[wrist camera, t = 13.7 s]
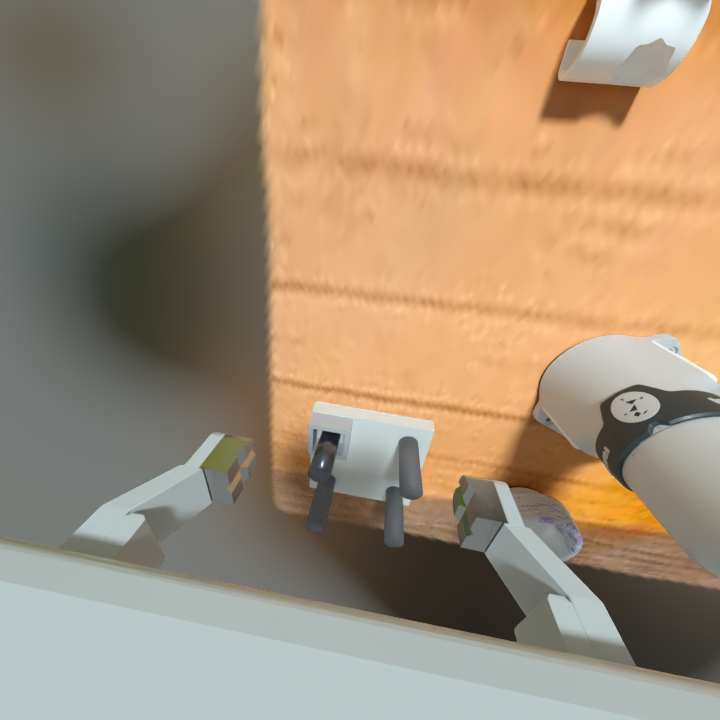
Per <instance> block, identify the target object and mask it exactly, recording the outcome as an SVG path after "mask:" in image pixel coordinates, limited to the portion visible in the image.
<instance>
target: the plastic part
mask: <svg viewBox="0 0 720 720" xmlns="http://www.w3.org/2000/svg"><path fill="white" fill-rule="evenodd" d="M710 7H711V0H597V3H596V11H595V15H594V18H593V21H592V24H591V27H590V30H589V33H588V35H587V38H586V40H569V41H568V43H567V46H566V49H565V52H564V55H563V58H562V61H561V64H560V67H559V70H558V79H559V81H570V82H583V83H596V84H609V85H622V86H635V87H648V88H650V87H653V86H656V85H657V84H659V83H660V82H662V81H663V80H664V79H666V78H667V77H668V76H669V75H670V74H671V73H672V72H673V71H674V70H675V69H676V67H677V66H678V65H679V64H680V63H681V61H682V60H683V59H684V57H685V56H686V55H687V53H688V52H689V50H690V49H691V47H692V46H693V44H694V42H695V40H696V39H697V37H698V35H699V33H700V31H701V29H702V27H703V25H704V23H705V21H706V19H707V16H708V14H709V11H710Z"/></svg>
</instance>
